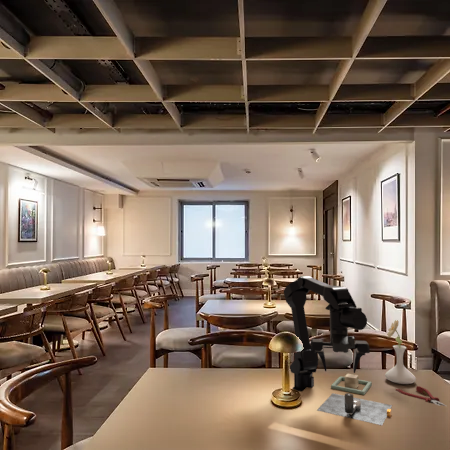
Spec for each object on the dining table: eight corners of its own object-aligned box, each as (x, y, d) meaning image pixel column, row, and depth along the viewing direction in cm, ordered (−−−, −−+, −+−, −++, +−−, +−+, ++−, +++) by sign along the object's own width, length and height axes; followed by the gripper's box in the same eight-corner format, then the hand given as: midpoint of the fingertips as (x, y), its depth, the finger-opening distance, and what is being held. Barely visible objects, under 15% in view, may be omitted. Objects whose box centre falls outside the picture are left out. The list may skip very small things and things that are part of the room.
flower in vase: (388, 375, 166) (387, 315, 167) (418, 380, 160) (417, 317, 161) (380, 384, 156) (379, 319, 157) (412, 390, 149) (410, 323, 150)
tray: (331, 392, 147) (330, 385, 147) (340, 382, 157) (340, 376, 157) (364, 399, 141) (364, 391, 141) (371, 388, 151) (371, 381, 151)
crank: (350, 403, 132) (350, 385, 133) (361, 406, 130) (361, 387, 131) (342, 414, 124) (342, 395, 124) (354, 417, 122) (353, 397, 122)
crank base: (316, 414, 128) (316, 405, 128) (332, 397, 142) (332, 388, 142) (385, 431, 117) (385, 420, 117) (395, 410, 131) (395, 401, 131)
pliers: (437, 418, 127) (436, 409, 127) (393, 394, 146) (393, 387, 146) (465, 413, 130) (465, 405, 130) (419, 391, 149) (419, 384, 149)
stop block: (344, 390, 148) (344, 376, 149) (347, 386, 152) (347, 373, 152) (355, 392, 146) (355, 378, 146) (358, 388, 150) (358, 375, 150)
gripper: (310, 328, 128) (311, 377, 127) (371, 330, 124) (372, 381, 123) (310, 322, 139) (311, 367, 138) (366, 323, 135) (367, 370, 134)
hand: (339, 371), depth 133 cm, fingers open, 9 cm apart
